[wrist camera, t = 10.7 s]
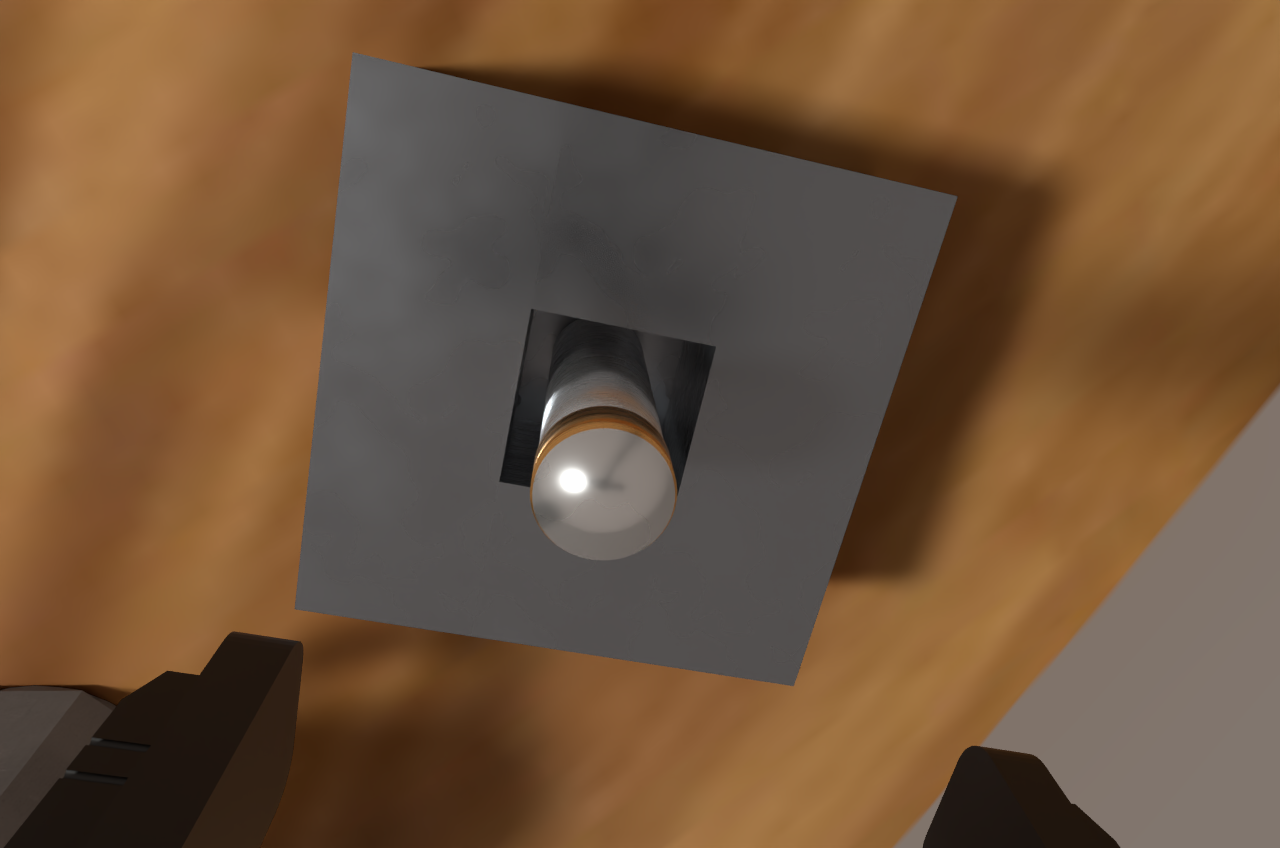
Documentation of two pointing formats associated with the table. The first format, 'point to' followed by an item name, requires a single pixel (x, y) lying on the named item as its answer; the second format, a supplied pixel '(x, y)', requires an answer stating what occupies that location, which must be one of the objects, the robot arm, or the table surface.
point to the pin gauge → (601, 447)
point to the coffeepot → (40, 744)
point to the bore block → (615, 295)
